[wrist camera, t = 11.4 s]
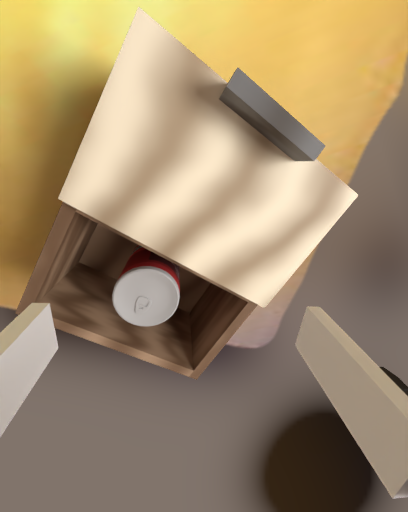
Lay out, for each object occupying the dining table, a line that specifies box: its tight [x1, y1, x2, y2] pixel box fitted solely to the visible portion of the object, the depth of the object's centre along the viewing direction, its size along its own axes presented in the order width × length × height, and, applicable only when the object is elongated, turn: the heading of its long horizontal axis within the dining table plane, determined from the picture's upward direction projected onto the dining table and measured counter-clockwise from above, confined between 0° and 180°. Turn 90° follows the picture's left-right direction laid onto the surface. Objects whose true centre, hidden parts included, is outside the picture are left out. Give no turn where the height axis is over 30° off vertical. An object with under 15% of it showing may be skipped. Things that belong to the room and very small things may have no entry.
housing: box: [15, 202, 258, 380], centre depth 29 cm, size 22×28×13 cm
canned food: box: [112, 245, 180, 327], centre depth 31 cm, size 8×8×11 cm
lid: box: [58, 7, 358, 308], centre depth 19 cm, size 22×14×4 cm, turn 57°
